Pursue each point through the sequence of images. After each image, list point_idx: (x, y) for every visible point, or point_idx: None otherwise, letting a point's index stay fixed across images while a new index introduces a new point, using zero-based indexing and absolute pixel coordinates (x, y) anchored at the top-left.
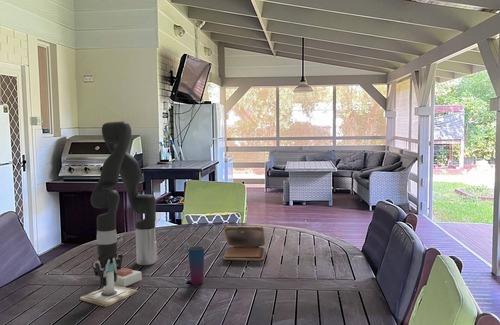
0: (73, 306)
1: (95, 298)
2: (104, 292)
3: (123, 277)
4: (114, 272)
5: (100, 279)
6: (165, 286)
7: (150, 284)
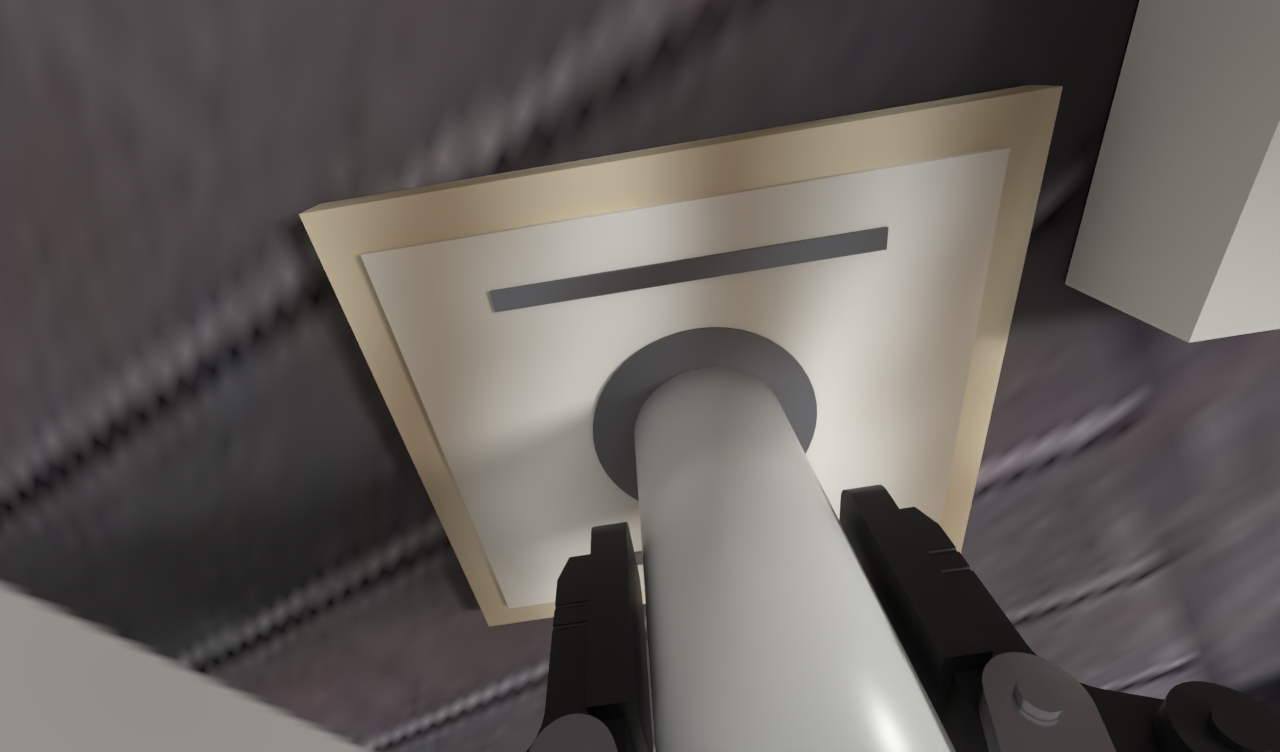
0: (164, 351)
1: (470, 450)
2: (635, 445)
3: (1277, 261)
4: (956, 741)
5: (552, 674)
6: (1202, 588)
7: (1243, 452)
